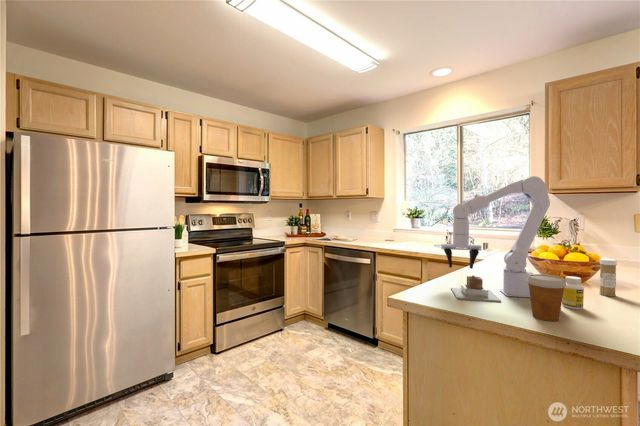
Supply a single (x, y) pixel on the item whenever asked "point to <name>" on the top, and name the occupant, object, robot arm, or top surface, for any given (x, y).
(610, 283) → the sprinkles bottle
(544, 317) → the disposable coffee cup
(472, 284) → the keyed block
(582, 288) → the supplement bottle
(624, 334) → the top surface
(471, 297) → the socket plate
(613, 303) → the top surface
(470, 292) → the collar
